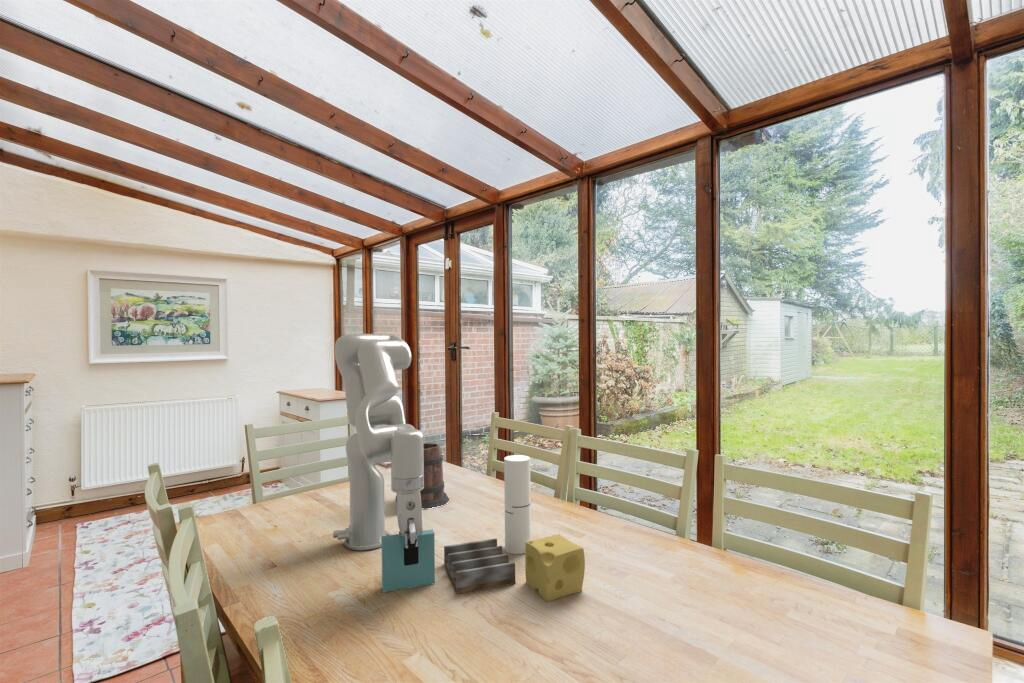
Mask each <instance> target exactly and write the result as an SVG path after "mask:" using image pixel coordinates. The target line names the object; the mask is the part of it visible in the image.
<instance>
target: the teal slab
mask: <svg viewBox="0 0 1024 683" xmlns="http://www.w3.org/2000/svg"><path fill="white" fill-rule="evenodd" d="M408 539H409V537H407V540H408ZM417 540H418V554H419V562H418V564H413V565H407V566H405V565H404V547H405V540H404V537H403V536H402V535H401V534H399V533H395V534H390V535H388V536H381V544H382V546H381V591H382V593H386V592H385V591H388V592H392V591H391V590H394V591H398V590H397V589H400V590H403V589H402V588H406V589H410V588H409V587H411V588H415V586H417V587H421V586H422V585H423V586H427V585H428V584H429V585H433V584H432V583H435V584H436V581H435V580H436V577H435V576H436V572H435V571H436V568H435V565H436V564H435V563H436V562H435V561H436V560H435V558H436V557H435V552H436V551H435V549H436V548H435V531H434V529H433V528H432V529H425V530H423V533H422V534H421V535H420V534H418V533H417ZM423 586H422V587H423Z"/></svg>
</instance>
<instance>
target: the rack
mask: <svg viewBox="0 0 1024 683" xmlns="http://www.w3.org/2000/svg"><path fill="white" fill-rule="evenodd" d="M443 548H444V549H443V550H444V551H443V553H444V554H443V555H444V557H443V565H444V564H445V565H444V567H445V570H446V572H447V573H448V576H449V579H450V580H451V583H452V585H453V587H454V590H455V592H456V594H457V595H459V594H465V593H471V592H475V591H480V590H487V589H492V588H497V587H498V586H499V587H503V586H509V585H514V584H516V581H517V580H516V562H515V561H511V562H509V560H510V558H509V552H507V553H503V551H504V550H503V548H504V547H503V545H498V539H497V538H490V539H483V540H477V541H476V540H475V541H470V542H464V543H463V542H462V543H458V544H457V543H456V544H451V545H444V546H443ZM499 587H498V588H499Z"/></svg>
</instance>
